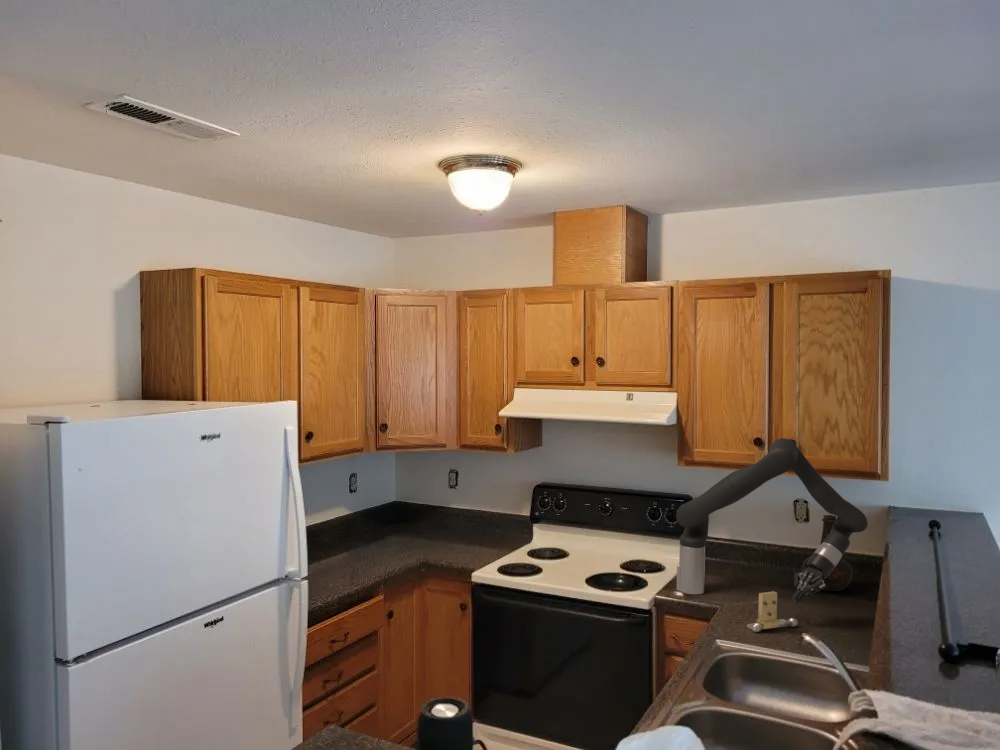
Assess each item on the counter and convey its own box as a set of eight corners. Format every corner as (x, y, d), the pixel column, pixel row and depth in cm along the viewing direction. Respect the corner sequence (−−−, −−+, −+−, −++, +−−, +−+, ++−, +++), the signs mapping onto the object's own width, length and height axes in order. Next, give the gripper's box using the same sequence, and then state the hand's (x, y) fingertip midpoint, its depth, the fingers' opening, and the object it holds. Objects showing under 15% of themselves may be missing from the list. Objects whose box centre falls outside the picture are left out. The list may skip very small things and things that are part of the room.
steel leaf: (756, 633, 235) (756, 625, 235) (744, 627, 241) (744, 619, 241) (798, 627, 242) (798, 619, 242) (785, 621, 247) (786, 613, 247)
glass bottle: (793, 587, 285) (795, 514, 285) (813, 578, 298) (814, 508, 297) (841, 599, 272) (843, 522, 272) (859, 589, 285) (861, 516, 284)
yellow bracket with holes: (763, 628, 236) (764, 595, 236) (755, 625, 239) (756, 592, 239) (778, 626, 238) (779, 593, 238) (770, 622, 242) (771, 590, 241)
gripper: (846, 571, 242) (816, 614, 238) (816, 562, 255) (787, 602, 251) (833, 557, 240) (802, 599, 236) (803, 548, 253) (774, 588, 249)
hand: (794, 600), depth 243 cm, fingers closed
